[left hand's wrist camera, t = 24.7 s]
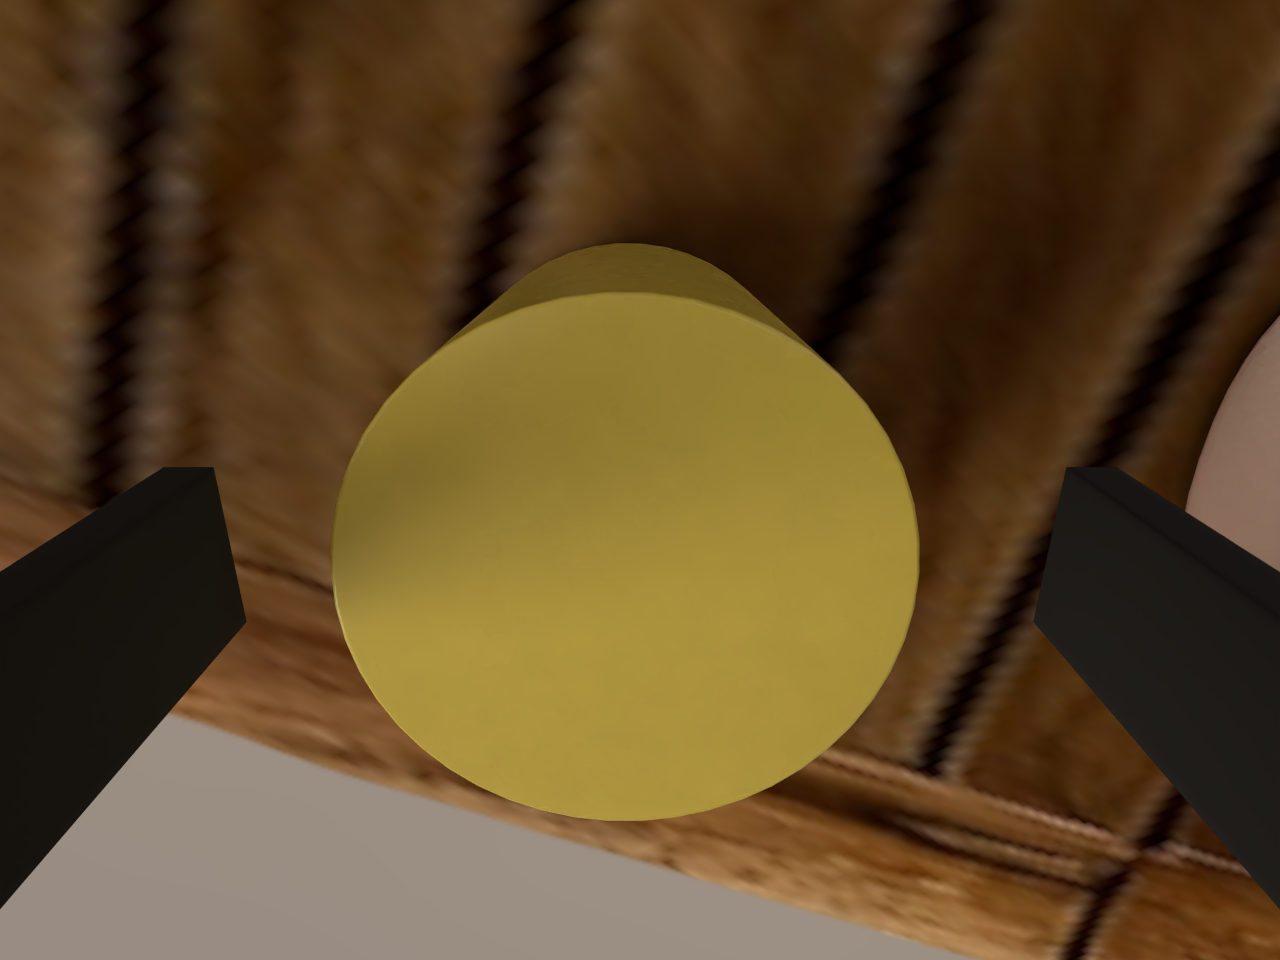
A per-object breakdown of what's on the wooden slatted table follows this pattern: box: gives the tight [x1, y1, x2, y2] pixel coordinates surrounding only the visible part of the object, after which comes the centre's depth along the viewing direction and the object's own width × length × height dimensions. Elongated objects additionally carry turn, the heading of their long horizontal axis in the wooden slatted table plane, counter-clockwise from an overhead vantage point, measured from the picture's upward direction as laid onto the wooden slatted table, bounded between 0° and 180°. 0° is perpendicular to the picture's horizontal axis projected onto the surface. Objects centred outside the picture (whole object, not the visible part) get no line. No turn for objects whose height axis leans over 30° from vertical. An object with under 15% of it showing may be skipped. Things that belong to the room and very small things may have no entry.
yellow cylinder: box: [331, 243, 919, 821], centre depth 17 cm, size 9×9×10 cm
